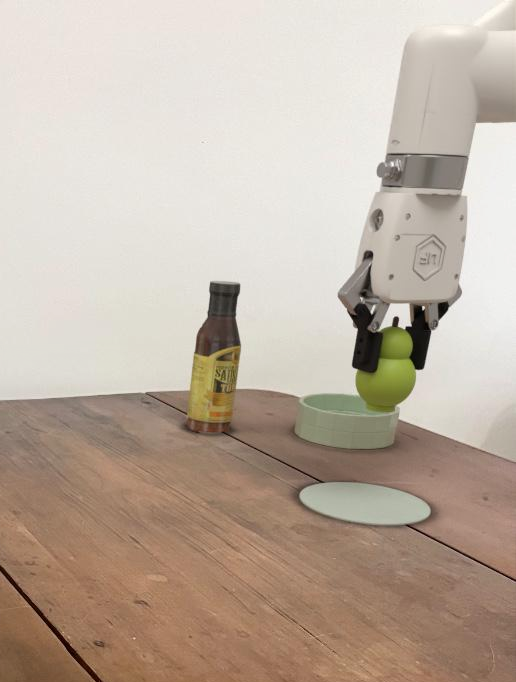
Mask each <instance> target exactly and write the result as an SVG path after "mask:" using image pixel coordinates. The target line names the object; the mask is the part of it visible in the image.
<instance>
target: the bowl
mask: <svg viewBox="0 0 516 682" xmlns="http://www.w3.org/2000/svg"><path fill="white" fill-rule="evenodd" d="M365 406H366V402H365V401H364V400H363V399H362V398H361V397H360V395H359V394H349V393H337V392H336V393H335V392H334V393H332V392H329V393H327V392H325V393H310V394H307V395H304V396H301V397H300V398H299V400H298V404H297V410H296V418H295V423H294V431H293V432H294V434H295V435H296V436H298V437H299V438H300V439H302V440H305V441H308V442H310V443H314V444H317V445H322V446H326V447H331V448H336V449H337V448H338V449H339V448H340V449H347V450H375V449H384V448H388V447H390V446H392V445H394V444H395V440H396V439H395V438H396V433H397V428H398V423H399V417H400V413H401V407H400V406H398V405H396V407H395V411H393V412H376V411H371V410H368V409H366V407H365Z"/></svg>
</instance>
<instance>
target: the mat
mask: <svg viewBox="0 0 516 682" xmlns="http://www.w3.org/2000/svg"><path fill="white" fill-rule="evenodd" d="M299 501H301V503H302V504H303V505H304V506H305V507H307V509H308V508H309V509H310V510H312V511H314V512H316V513H319V514H321V515H324V516H326V517H330V518H333V519H336V520H341V521H346V522H350V523H356V524H363V525H373V526H406V525H412V524H417V523H421V522H423V521H425V520H427V519H428V518H430V515H431V512H432V510H431V507H430V506H429V504H428V503H427V502H426V501H424V500H423V499H421V498H419V497H417V496H415V495H413V494H410V493H408V492H405V491H403V490H399V489H395V488H392V487H387V486H383V485H377V484H373V483H364V482H354V481H353V482H352V481H332V482H331V481H329V482H320V483H314V484H311V485H308V486H306V487H304V488H303V489H302V490H301V491H300V492H299Z"/></svg>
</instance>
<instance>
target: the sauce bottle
mask: <svg viewBox="0 0 516 682" xmlns="http://www.w3.org/2000/svg"><path fill="white" fill-rule="evenodd" d="M208 292H209V300H208V301H209V302H208V309H207V313H206V314H207V317H206V319H205V320H204V322H203V323H202V325H201V326H200V327H199V329H198V331H197V334H196V339H195V348H194V352H193V357H192V366H191V367H192V368H191V377H190V386H189V395H188V403H187V412H186V413H187V414H186V417H187V421H186V422H187V423H186V426H187V429H188V430H189V431H190V432H193V433H198V434H200V433H224V432H227V431H229V430H230V428H231V422H232V420H233V414H234V406H235V399H236V391H237V383H238V374H239V367H240V357H241V351H242V343H241V337H240V333H239V332H240V331H239V327H238V323H237V307H238V299H239V296H240V294H241V283H240V282H237V281H229V280H227V281H226V280H211V281H210V282H209V289H208Z"/></svg>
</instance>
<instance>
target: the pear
mask: <svg viewBox="0 0 516 682" xmlns="http://www.w3.org/2000/svg"><path fill="white" fill-rule="evenodd" d="M399 322H400V317H399V316H397V315H396V316H394V317H393V318H392V322H391V325H390V326H386V327H383V328H380V329H379V330H378V332H382V333H383V340H382V346H381V351H380V357H379V363H378V368H377V371H376V372H374V373H368V372H365V371H361V370H358V369H356V374H355V378H354V379H355V387H356V391H357V394H358V395H360V397H361V398H362V399H363V400H364V401H365V402H366V406H365V407H366V409H368V410H371V411H376V412H393V411H395V407H396V406H398V405H400V404H401V403H402V402H403V403H404V401H406V400H407V398H409V396H410V395H411V394H412V392H413V391H414V388H415V385H416V382H417V370H415V367H414V365H413V362H412V361H411V360H410V358H409V357H410V355H411V352H412V349H413V342H412V338H411V336H410V335H409V333H408V332H407V331H406V330H405V328H403V327H400V326H399Z"/></svg>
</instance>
